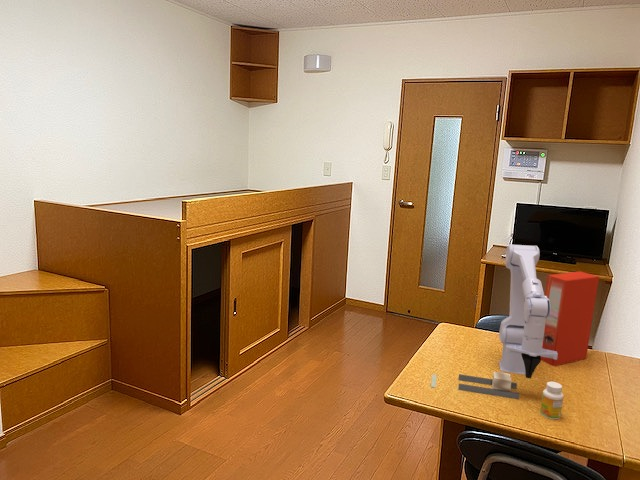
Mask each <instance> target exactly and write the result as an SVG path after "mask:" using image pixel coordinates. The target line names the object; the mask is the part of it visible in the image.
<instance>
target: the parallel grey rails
mask: <svg viewBox="0 0 640 480" xmlns="http://www.w3.org/2000/svg"><path fill="white" fill-rule="evenodd" d="M457 380H458V381H463V382H469V383H474V384H482V385H488V386H492V380H493V378H488V377H479V376H473V375H466V374H462V373H461V374H460V373H459V374H458V379H457ZM457 387H458V390H459V391H463V392H464V391H466V392H471V393H475V394H476V393H477V394H484V395H489V396H495V397H503V398H509V399H514V400H519V399H520V392H516V391H511V390H510V391H504V390H497V389H492V387H491V388H490V387H483V386H478V385H471V384H466V383H464V384H463V383H458V386H457ZM517 387H518V383H517V382H513V381H511V389H514V390H517Z"/></svg>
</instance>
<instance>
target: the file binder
mask: <svg viewBox="0 0 640 480" xmlns="http://www.w3.org/2000/svg"><path fill="white" fill-rule="evenodd" d="M599 281H600V276H598V275H595V274H591V273H587V272H584V271H580V270H579V271H571V272H563V273H556V274H547V275H546V283H545V290H544V295H545V296H547V298H548V299H549V301H550V314H549V317H545V318H546V322H545V330H544V337H543V345H542V348H543V349H547V350H551V351H557V353H558V356H557V360H555V359H553V358H547V357H541V361H543V362H544V363H546V364H548V365H551V366H552V367H556V366H560V365H564V364H568V363H572V362H577V361H582V360H585V359H587V357H588V356H587V355H588V350H589V349H588V348H589V343H590V337H591V329H592V323H593V318H594V312H595V311H594V310H595V306H596V305H595V304H596V298H597V292H598V286H599Z"/></svg>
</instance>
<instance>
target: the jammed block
mask: <svg viewBox="0 0 640 480" xmlns="http://www.w3.org/2000/svg"><path fill="white" fill-rule="evenodd" d="M492 379H493V380H492V385H491V389H497V390H504V391H510V392H511V389H512V388H511V382H512V377H511V374H510V373H509V372H502V371H493V373H492Z"/></svg>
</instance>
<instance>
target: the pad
mask: <svg viewBox="0 0 640 480" xmlns="http://www.w3.org/2000/svg"><path fill="white" fill-rule="evenodd" d="M430 383H431V384H430V388H434V389H436V386H437V374H433V373H432V376H431V382H430Z"/></svg>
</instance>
